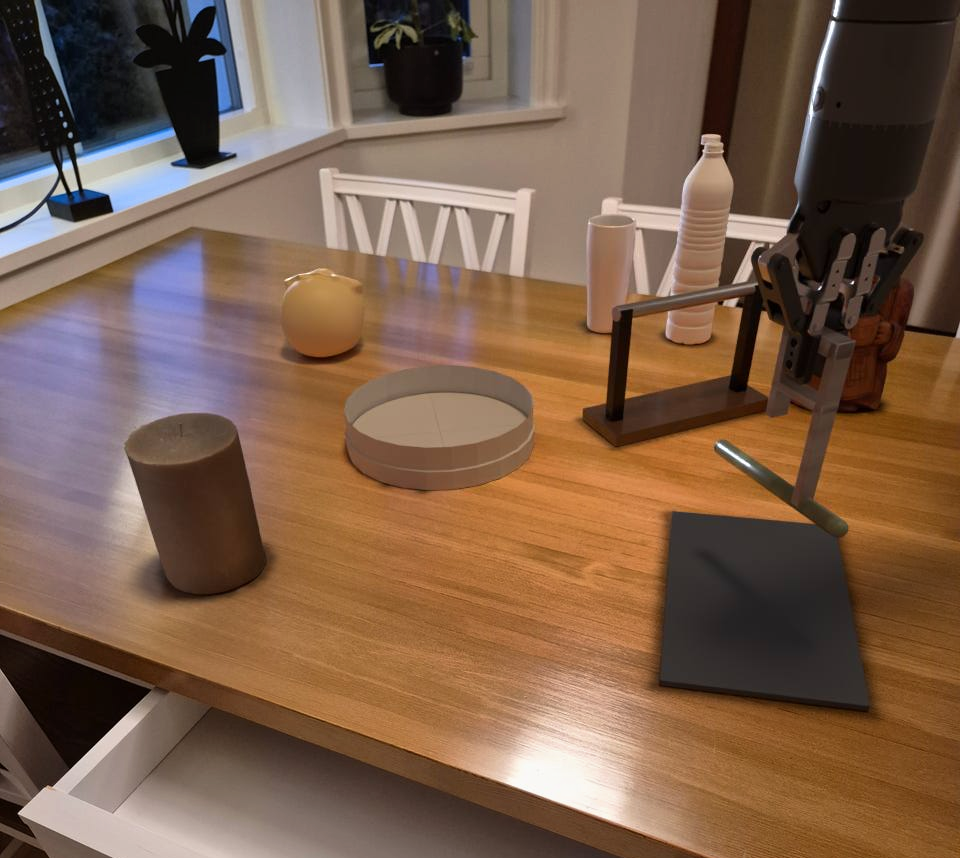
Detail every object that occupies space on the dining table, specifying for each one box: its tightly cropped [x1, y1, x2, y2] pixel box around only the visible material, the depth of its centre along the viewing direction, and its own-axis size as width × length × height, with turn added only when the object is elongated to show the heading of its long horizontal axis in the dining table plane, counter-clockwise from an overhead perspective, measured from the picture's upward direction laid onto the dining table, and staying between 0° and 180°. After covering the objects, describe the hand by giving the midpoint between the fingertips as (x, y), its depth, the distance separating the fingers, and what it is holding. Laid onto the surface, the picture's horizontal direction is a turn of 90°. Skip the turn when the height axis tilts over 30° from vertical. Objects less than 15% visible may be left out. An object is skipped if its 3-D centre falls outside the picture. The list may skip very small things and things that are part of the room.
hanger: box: [713, 326, 855, 539], centre depth 67 cm, size 16×2×14 cm, turn 24°
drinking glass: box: [585, 213, 637, 334], centre depth 124 cm, size 7×7×15 cm
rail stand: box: [581, 279, 769, 448], centre depth 102 cm, size 8×22×15 cm, turn 114°
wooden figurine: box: [790, 275, 915, 412], centre depth 102 cm, size 12×6×18 cm, turn 86°
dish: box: [343, 364, 536, 491], centre depth 100 cm, size 22×22×5 cm
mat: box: [658, 510, 871, 712], centre depth 77 cm, size 26×16×1 cm, turn 168°
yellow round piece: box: [279, 267, 365, 358], centre depth 121 cm, size 11×12×11 cm
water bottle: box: [665, 133, 734, 345], centre depth 119 cm, size 9×6×25 cm
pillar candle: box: [123, 412, 267, 595], centre depth 79 cm, size 10×10×15 cm
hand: (808, 377), depth 64 cm, fingers closed on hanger, 1 cm apart
